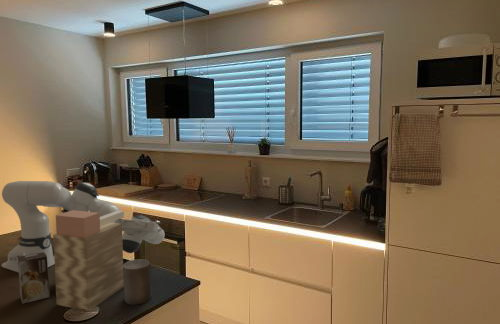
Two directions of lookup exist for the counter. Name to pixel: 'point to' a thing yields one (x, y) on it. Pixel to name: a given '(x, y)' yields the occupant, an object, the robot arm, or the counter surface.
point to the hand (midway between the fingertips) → (127, 220)
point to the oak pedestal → (88, 267)
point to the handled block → (83, 222)
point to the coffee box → (33, 277)
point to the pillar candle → (137, 281)
